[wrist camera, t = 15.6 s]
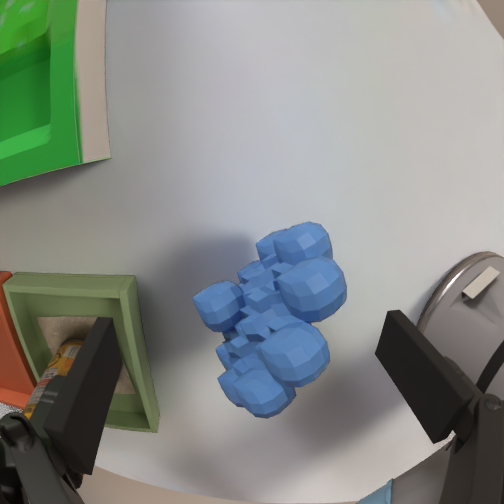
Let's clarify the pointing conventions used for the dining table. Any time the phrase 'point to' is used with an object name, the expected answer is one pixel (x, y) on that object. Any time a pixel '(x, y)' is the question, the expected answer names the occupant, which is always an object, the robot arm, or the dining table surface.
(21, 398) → the terracotta tray
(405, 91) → the dining table surface
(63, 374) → the condiment
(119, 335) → the green tray
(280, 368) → the grapes
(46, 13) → the tray
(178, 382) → the dining table surface
